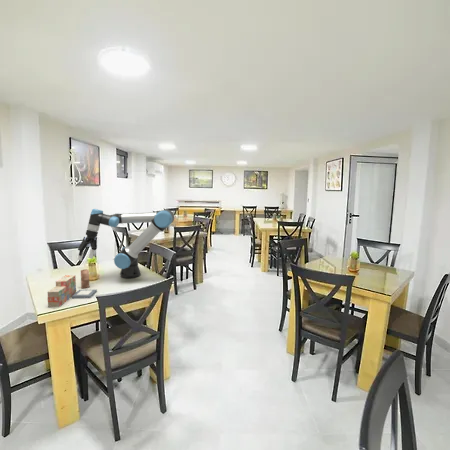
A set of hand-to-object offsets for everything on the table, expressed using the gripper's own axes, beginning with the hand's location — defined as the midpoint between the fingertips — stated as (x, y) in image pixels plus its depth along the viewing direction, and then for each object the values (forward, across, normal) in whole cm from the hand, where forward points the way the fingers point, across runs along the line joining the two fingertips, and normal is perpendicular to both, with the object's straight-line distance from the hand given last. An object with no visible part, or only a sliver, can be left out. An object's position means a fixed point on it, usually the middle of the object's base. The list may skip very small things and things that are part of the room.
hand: (85, 259), depth 196 cm
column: (+17, +7, +9) cm, 20 cm away
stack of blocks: (+21, +28, +8) cm, 36 cm away
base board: (+17, +20, +16) cm, 31 cm away
